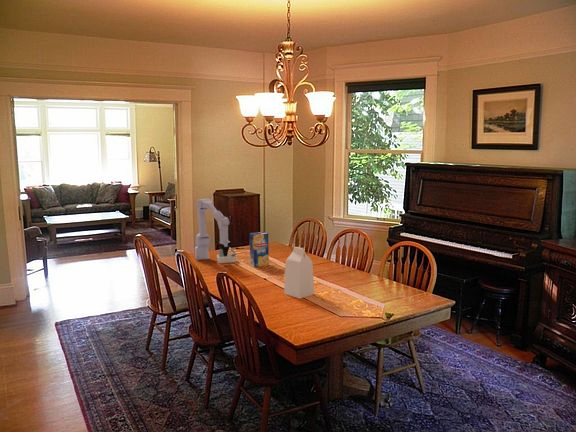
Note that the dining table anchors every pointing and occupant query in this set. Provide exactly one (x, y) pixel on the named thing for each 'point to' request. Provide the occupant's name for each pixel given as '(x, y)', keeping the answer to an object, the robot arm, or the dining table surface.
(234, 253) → the side flap
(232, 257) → the carton
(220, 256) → the front flap
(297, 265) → the milk
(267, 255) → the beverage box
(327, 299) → the dining table surface
